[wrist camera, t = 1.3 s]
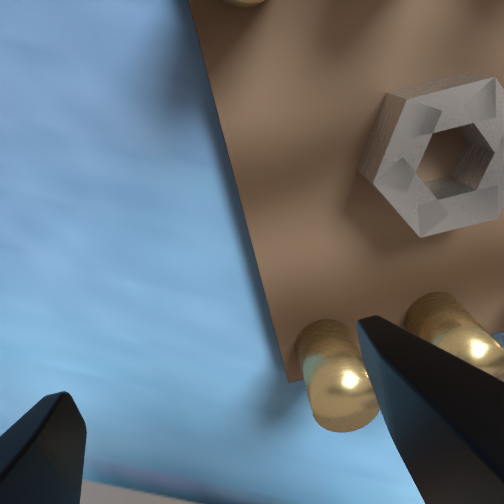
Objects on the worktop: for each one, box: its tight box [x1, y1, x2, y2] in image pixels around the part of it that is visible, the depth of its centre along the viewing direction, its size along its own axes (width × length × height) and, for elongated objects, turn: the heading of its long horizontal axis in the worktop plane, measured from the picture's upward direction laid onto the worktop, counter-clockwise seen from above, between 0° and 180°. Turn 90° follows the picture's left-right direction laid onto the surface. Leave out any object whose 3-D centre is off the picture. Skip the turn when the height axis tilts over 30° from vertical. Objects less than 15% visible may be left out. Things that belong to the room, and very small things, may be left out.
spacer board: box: [188, 0, 504, 383], centre depth 18 cm, size 19×20×1 cm
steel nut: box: [357, 72, 504, 238], centre depth 17 cm, size 5×6×2 cm
